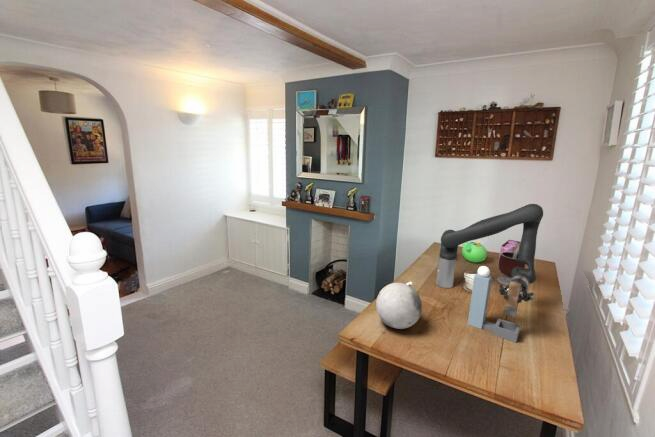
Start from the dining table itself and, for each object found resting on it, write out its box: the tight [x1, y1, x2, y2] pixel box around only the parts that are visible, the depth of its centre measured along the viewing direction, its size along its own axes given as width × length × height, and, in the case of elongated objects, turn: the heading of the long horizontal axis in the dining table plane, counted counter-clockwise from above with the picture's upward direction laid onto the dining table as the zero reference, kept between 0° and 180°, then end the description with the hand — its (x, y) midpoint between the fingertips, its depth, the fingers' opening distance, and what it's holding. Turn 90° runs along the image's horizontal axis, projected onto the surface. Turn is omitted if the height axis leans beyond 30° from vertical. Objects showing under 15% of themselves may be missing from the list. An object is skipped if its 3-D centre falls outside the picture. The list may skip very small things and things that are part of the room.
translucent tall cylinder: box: [504, 281, 521, 318], centre depth 136 cm, size 4×4×14 cm
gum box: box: [497, 239, 521, 265], centre depth 228 cm, size 24×8×14 cm, turn 138°
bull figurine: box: [406, 281, 415, 288], centre depth 170 cm, size 4×13×8 cm, turn 137°
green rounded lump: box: [461, 241, 488, 263], centre depth 227 cm, size 18×17×15 cm
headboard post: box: [467, 265, 521, 343], centre depth 140 cm, size 20×9×28 cm, turn 52°
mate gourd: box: [497, 248, 526, 286], centre depth 194 cm, size 16×14×20 cm
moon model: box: [375, 282, 423, 330], centre depth 143 cm, size 20×20×20 cm
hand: (512, 299), depth 134 cm, fingers closed on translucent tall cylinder, 4 cm apart
